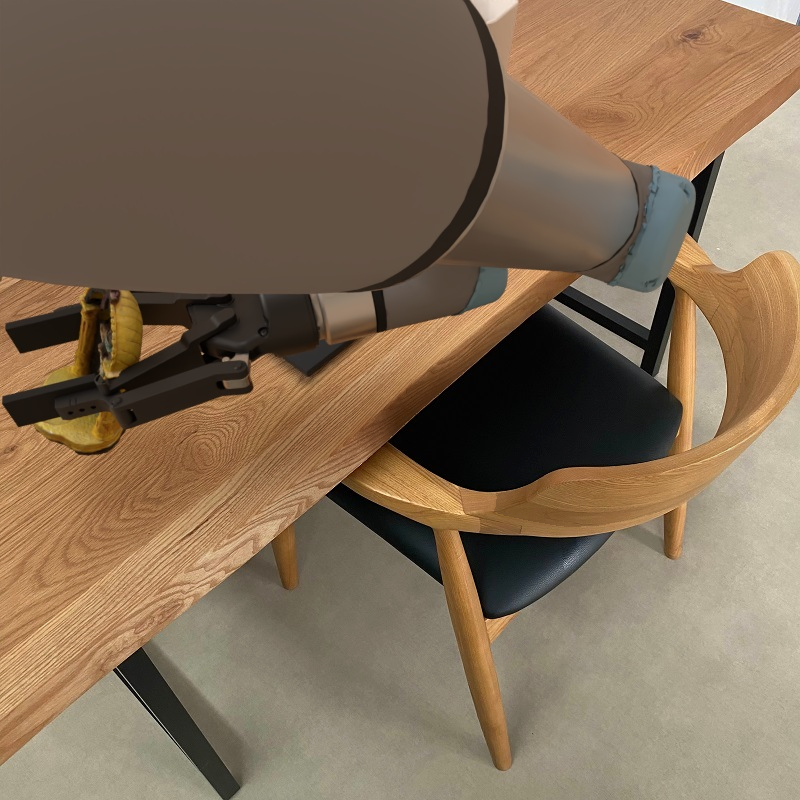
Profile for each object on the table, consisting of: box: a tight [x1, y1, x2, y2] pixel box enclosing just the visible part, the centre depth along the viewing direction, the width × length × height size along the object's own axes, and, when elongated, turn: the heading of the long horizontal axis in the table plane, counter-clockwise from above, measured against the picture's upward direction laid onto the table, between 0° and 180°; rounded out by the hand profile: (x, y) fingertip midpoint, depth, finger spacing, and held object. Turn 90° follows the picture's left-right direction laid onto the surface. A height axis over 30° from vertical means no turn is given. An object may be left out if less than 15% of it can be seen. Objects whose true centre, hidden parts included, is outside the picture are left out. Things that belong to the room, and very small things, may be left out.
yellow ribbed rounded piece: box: [32, 287, 144, 457], centre depth 60 cm, size 12×8×15 cm
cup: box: [471, 0, 519, 73], centre depth 94 cm, size 11×10×17 cm
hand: (12, 373), depth 59 cm, fingers closed on yellow ribbed rounded piece, 7 cm apart
